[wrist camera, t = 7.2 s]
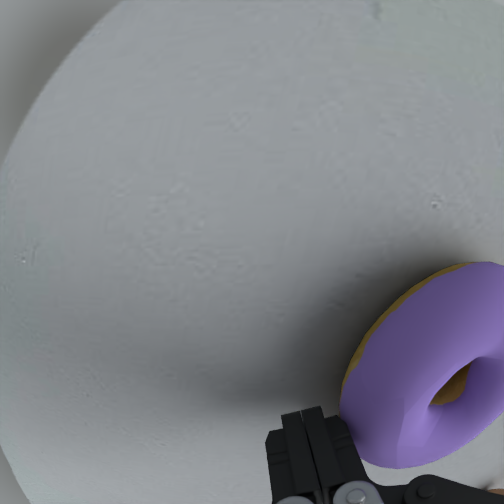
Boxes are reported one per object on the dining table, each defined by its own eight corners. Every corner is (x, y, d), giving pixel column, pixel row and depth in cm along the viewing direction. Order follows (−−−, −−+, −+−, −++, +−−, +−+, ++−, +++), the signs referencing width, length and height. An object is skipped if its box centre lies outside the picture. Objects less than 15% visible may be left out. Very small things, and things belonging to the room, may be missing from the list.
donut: (446, 193, 10) (557, 248, 5) (504, 296, 13) (561, 343, 9) (273, 397, 12) (314, 503, 7) (387, 426, 15) (426, 486, 11)
